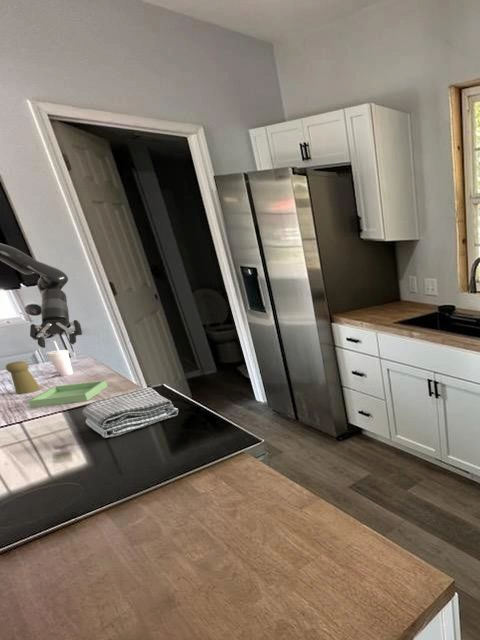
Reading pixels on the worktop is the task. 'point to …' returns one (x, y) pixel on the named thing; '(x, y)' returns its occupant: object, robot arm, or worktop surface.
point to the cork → (22, 378)
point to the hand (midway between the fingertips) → (57, 345)
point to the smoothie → (60, 361)
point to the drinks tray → (68, 394)
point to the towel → (128, 412)
